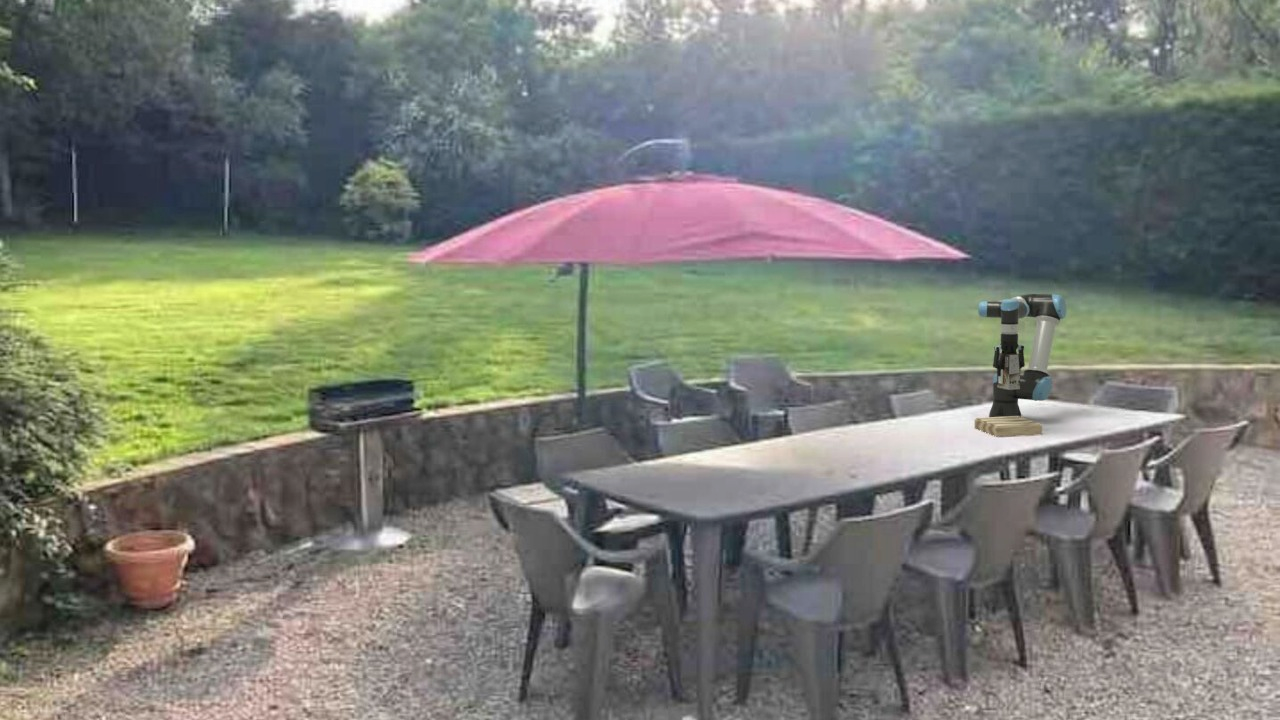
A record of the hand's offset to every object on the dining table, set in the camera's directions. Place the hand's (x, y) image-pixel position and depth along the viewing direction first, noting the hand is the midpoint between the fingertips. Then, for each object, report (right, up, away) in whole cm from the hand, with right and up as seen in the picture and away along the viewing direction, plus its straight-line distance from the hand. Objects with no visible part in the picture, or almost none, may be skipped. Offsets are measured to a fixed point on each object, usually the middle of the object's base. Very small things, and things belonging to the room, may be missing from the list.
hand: (1008, 382), depth 508 cm
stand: (+1, -22, +3) cm, 23 cm away
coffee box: (0, -3, 0) cm, 3 cm away
